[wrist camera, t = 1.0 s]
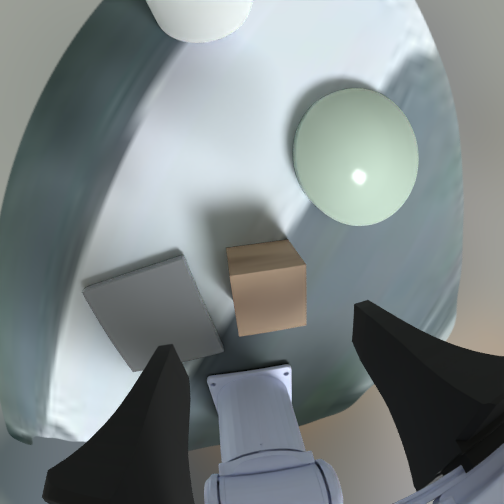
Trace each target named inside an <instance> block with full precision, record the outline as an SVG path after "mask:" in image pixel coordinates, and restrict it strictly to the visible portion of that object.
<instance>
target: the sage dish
mask: <svg viewBox="0 0 504 504" xmlns="http://www.w3.org/2000/svg"><path fill="white" fill-rule="evenodd" d="M293 162H294V169H295V172H296V176H297V179H298V181H299V184H300V186H301V188H302V190H303V191H304V193H305V195H306V196H307V197H308V199H309V200H310V201H311V202H312V203H313V204H314V205H315V206H316V207H317V208H318V209H319V210H321V211H322V212H323V213H325V214H326V215H328V216H329V217H331V218H333V219H334V220H336V221H339V222H341V223H344V224H348V225H354V226H366V225H371V224H375V223H378V222H381V221H383V220H385V219H386V218H388V217H390V216H391V215H392V214H394V213H395V212H396V211H397V210H398V209H399V208H400V207H401V206H402V205H403V204H404V202H405V201H406V199H407V198H408V196H409V194H410V192H411V190H412V188H413V186H414V183H415V180H416V176H417V170H418V147H417V141H416V138H415V134H414V132H413V129H412V127H411V125H410V123H409V121H408V119H407V118H406V116H405V115H404V113H403V112H402V111H401V110H400V109H399V108H398V106H397V105H395V104H394V103H393V102H392V101H391V100H389V99H388V98H387V97H385V96H383V95H381V94H379V93H377V92H375V91H372V90H368V89H362V88H349V89H343V90H340V91H337V92H334V93H331V94H328V95H326V96H324V97H322V98H321V99H319V100H318V101H317V102H315V103H314V104H313V105H312V106H311V107H310V108H309V109H308V111H307V112H306V113H305V114H304V116H303V118H302V119H301V121H300V123H299V126H298V128H297V131H296V134H295V138H294V145H293Z"/></svg>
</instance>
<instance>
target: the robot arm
mask: <svg viewBox="0 0 504 504" xmlns="http://www.w3.org/2000/svg"><path fill="white" fill-rule="evenodd" d="M352 342H353V344H354V347H355V349H356V351H357V354H358V356H359V358H360V360H361V362H362V364H363V366H364V367H365V369H366V371H367V372H368V374H369V376H370V377H371V379H372V381H373V382H374V384H375V385H376V387H377V388H378V390H379V392H380V394H381V395H382V397H383V399H384V401H385V402H386V404H387V406H388V408H389V411H390V413H391V415H392V418H393V420H394V422H395V425H396V427H397V429H398V433H399V435H400V438H401V441H402V444H403V447H404V450H405V453H406V456H407V460H408V463H409V467H410V471H411V475H412V479H413V484H414V487H415V489H416V491H417V492H416V493H414V494H412V495H410V496H408V497H406V498H404V499H402V500H400V501H397V502H395V503H393V504H427V503H428V502H430V501H432V500H434V501H433V504H504V356H495V355H490V354H485V353H480V352H476V351H472V350H469V349H465V348H462V347H459V346H456V345H453V344H450V343H448V342H445V341H443V340H440V339H438V338H436V337H433V336H431V335H429V334H427V333H425V332H423V331H421V330H419V329H417V328H415V327H413V326H412V325H410V324H408V323H406V322H404V321H403V320H401V319H399V318H397V317H396V316H394V315H392V314H391V313H389V312H387V311H386V310H384V309H382V308H381V307H379V306H377V305H376V304H374V303H372V302H370V301H369V300H366V301H363V302H360V303H356V304H354V321H353V336H352ZM285 372H286V373H285ZM207 383H208V386H209V389H210V392H211V395H212V398H213V401H214V404H215V407H216V409H217V412H218V416H219V431H220V445H221V457H222V463H219V474H212V475H211V476H210V478H209V479H207V480H206V482H205V488H204V500H205V504H343V495H342V490H341V485H340V482H339V479H338V477H337V474H336V472H335V470H334V469H333V467H332V466H331V465H330V464H328V463H327V462H325V461H324V460H322V459H317V460H314V457H313V454H312V451H306V450H305V447H304V443H303V440H302V437H301V434H300V430H299V427H298V423H297V420H296V417H295V413H294V410H293V407H292V387H291V367H290V365H288V364H285V365H280V366H274V367H268V368H262V369H256V370H250V371H243V372H236V373H228V374H220V375H212V376H209V377H208V378H207ZM212 383H214V384H212ZM189 416H190V385H189V377H188V375H187V373H186V371H185V369H184V366H183V364H182V362H181V360H180V358H179V356H178V354H177V352H176V350H175V348H174V345H173V344H168V345H161V346H158V347H157V349H156V350H155V352H154V354H153V355H152V357H151V358H150V360H149V362H148V363H147V365H146V367H145V368H144V370H143V372H142V373H141V375H140V377H139V378H138V380H137V381H136V383H135V384H134V386H133V388H132V389H131V391H130V392H129V393H128V395H127V396H126V398H125V399H124V401H123V402H122V404H121V405H120V406H119V408H118V409H117V410H116V411H115V413H114V414H113V415H112V416H111V417H110V419H109V420H108V421H107V422H106V423H105V424H104V425H103V426H102V427H101V428H100V429H99V430H98V431H97V432H96V433H95V434H94V435H93V436H92V437H91V438H90V439H89V440H88V441H87V442H86V443H85V444H84V445H83V446H82V447H80V448H79V449H78V450H77V451H75V452H74V453H73V454H72V455H70V456H69V457H68V458H66V459H65V460H64V461H62V462H60V463H59V464H57V465H56V466H54V467H52V468H51V469H49V470H48V472H47V476H46V481H45V485H44V490H43V495H42V498H43V499H44V500H45V501H46V502H47V503H49V504H194V499H193V493H192V487H191V480H190V471H189V461H188V434H189ZM435 498H436V499H435Z"/></svg>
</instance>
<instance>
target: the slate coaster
mask: <svg viewBox="0 0 504 504" xmlns="http://www.w3.org/2000/svg"><path fill="white" fill-rule="evenodd" d="M82 293H83V295H84V297H85V299H86V300H87V302H88V304H89V306H90V307H91V309H92V311H93V312H94V314H95V316H96V318H97V319H98V321H99V322H100V324H101V326H102V327H103V329H104V330H105V332H106V334H107V335H108V337H109V338H110V340H111V341H112V343H113V344H114V346H115V347H116V349H117V350H118V352H119V353H120V354H121V356H122V357H123V359H124V360H125V362H126V363H127V364H128V366H129V367H130V368H131V370H132V371H133V372H136V371H142V370H144V368H145V367H146V365H147V363H148V362H149V360H150V358H151V357H152V355H153V354H154V352H155V350H156V349H157V347H158V346H161V345H168V344H173V345H174V348H175V350H176V352H177V354H178V356H179V358H180V360H181V362H185V361H189V360H194V359H198V358H202V357H206V356H210V355H214V354H218V353H222V352H224V347H223V344H222V342H221V340H220V338H219V335H218V333H217V331H216V329H215V327H214V324H213V322H212V320H211V318H210V316H209V313H208V311H207V309H206V307H205V304H204V302H203V300H202V298H201V295H200V293H199V291H198V288H197V286H196V284H195V281H194V279H193V276H192V274H191V272H190V269H189V267H188V264H187V262H186V259H185V257H184V255H181V256H178V257H175V258H172V259H169V260H166V261H163V262H160V263H157V264H154V265H151V266H148V267H144V268H141V269H138V270H135V271H132V272H129V273H126V274H123V275H120V276H118V277H115V278H112V279H109V280H106V281H103V282H100V283H97V284H94V285H91V286H88V287H85V289H84V290H83V291H82Z"/></svg>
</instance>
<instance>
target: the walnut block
mask: <svg viewBox="0 0 504 504" xmlns="http://www.w3.org/2000/svg"><path fill="white" fill-rule="evenodd" d="M226 251H227V259H228V268H229V276H230V282H231V289H232V295H233V302H234V308H235V314H236V320H237V326H238V333H239V337H240V336H247V335H253V334H260V333H266V332H272V331H277V330H283V329H289V328H294V327H299V326H304V325H306V264H305V262H304V261H303V260H302V258H301V257H300V255H299V254H298V253H297V251H296V250H295V249H294V247H293V246H292V244H291V243H290V242H289V240H288V239H287V240H280V241H272V242H265V243H258V244H251V245H243V246H236V247H229V248H226Z"/></svg>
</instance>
